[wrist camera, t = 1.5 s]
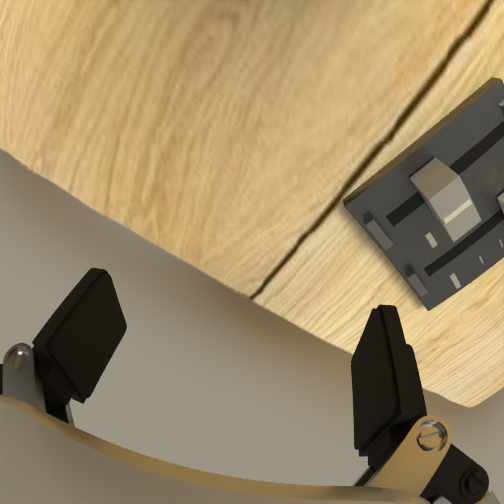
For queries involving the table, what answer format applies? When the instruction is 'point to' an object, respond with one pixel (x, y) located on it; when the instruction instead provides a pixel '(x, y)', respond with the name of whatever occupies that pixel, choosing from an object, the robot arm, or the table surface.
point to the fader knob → (501, 201)
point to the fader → (446, 198)
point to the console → (418, 212)
